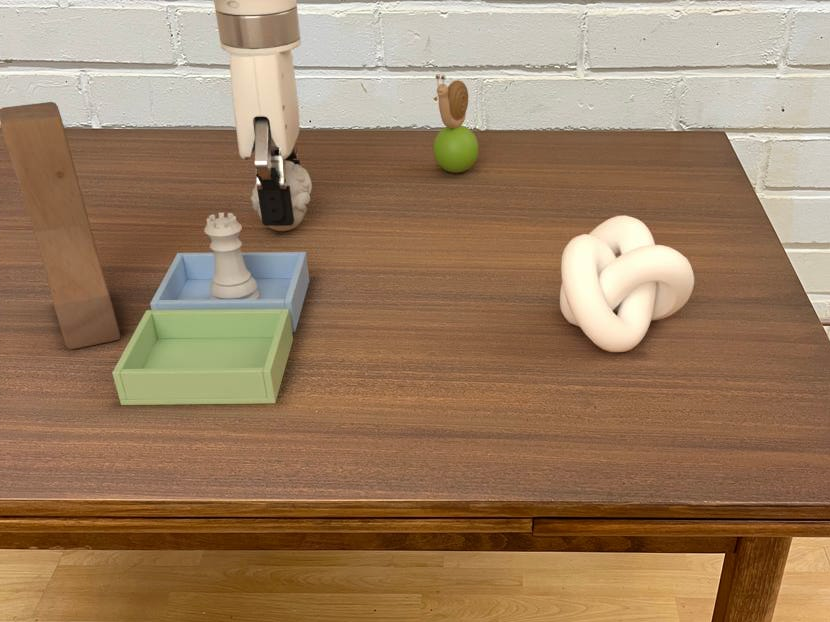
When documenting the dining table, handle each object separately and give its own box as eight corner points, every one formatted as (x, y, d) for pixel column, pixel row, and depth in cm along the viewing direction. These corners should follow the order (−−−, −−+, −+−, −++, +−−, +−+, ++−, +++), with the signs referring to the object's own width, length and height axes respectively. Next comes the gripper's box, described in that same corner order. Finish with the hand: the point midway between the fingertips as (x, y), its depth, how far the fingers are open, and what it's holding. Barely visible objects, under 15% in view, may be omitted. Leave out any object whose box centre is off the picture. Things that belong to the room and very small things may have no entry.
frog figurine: (328, 223, 103) (322, 158, 99) (286, 246, 99) (277, 180, 94) (285, 211, 106) (277, 148, 101) (242, 233, 101) (231, 168, 97)
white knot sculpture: (520, 311, 87) (523, 217, 82) (633, 286, 91) (642, 195, 86) (580, 370, 79) (588, 270, 74) (701, 340, 83) (717, 243, 78)
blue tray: (157, 333, 84) (149, 303, 82) (183, 281, 92) (177, 252, 90) (295, 332, 84) (291, 301, 83) (309, 280, 92) (306, 251, 91)
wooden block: (121, 341, 83) (66, 132, 72) (67, 351, 82) (2, 140, 71) (108, 297, 90) (55, 99, 79) (58, 306, 88) (-3, 106, 77)
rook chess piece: (270, 300, 88) (257, 217, 83) (229, 317, 86) (214, 233, 81) (241, 285, 90) (227, 204, 86) (201, 301, 88) (184, 218, 83)
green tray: (120, 405, 75) (111, 372, 73) (153, 340, 83) (146, 309, 81) (275, 403, 75) (270, 371, 74) (293, 339, 83) (289, 308, 82)
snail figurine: (422, 178, 114) (417, 72, 106) (446, 161, 118) (443, 58, 111) (462, 185, 112) (461, 78, 104) (486, 167, 116) (486, 63, 109)
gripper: (236, 8, 97) (261, 180, 108) (199, 52, 83) (233, 245, 94) (310, 7, 97) (328, 180, 108) (285, 52, 83) (309, 244, 94)
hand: (283, 209), depth 101 cm, fingers closed on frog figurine, 6 cm apart
